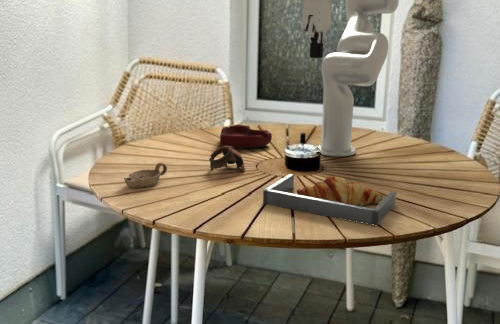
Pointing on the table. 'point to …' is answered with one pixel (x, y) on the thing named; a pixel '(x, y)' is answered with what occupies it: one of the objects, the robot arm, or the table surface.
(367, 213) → the bent metal bracket
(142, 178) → the oil lamp
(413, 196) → the table surface
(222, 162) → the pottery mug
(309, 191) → the croissant
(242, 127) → the ashtray
